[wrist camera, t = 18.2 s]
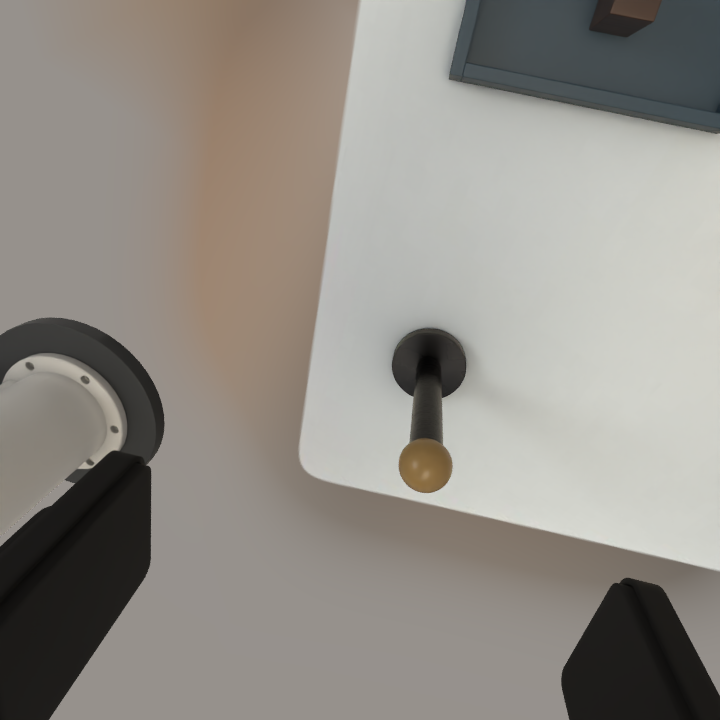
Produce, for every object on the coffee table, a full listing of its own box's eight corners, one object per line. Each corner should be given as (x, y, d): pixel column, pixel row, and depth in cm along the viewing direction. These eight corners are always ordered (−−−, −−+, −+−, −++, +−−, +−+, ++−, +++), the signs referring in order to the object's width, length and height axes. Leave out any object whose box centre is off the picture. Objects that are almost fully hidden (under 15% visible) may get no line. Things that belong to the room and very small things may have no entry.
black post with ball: (386, 384, 42) (359, 510, 27) (402, 320, 39) (381, 421, 25) (454, 400, 41) (464, 537, 27) (474, 337, 39) (497, 449, 24)
